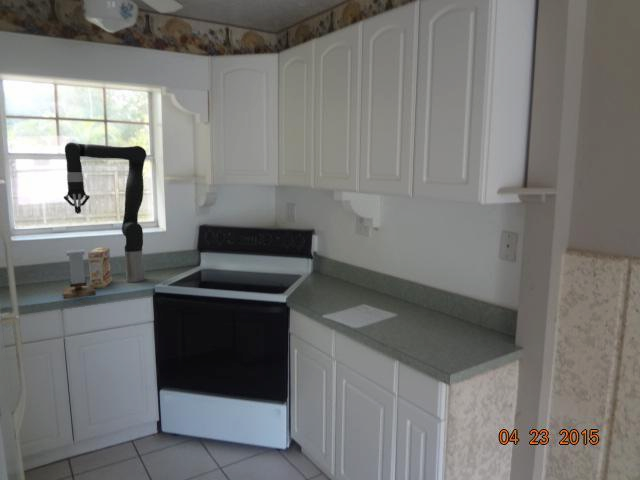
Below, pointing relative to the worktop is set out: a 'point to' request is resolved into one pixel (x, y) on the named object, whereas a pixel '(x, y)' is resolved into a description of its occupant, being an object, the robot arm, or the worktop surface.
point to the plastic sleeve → (76, 265)
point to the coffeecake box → (100, 267)
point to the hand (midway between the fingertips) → (78, 213)
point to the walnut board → (78, 291)
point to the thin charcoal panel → (78, 284)
